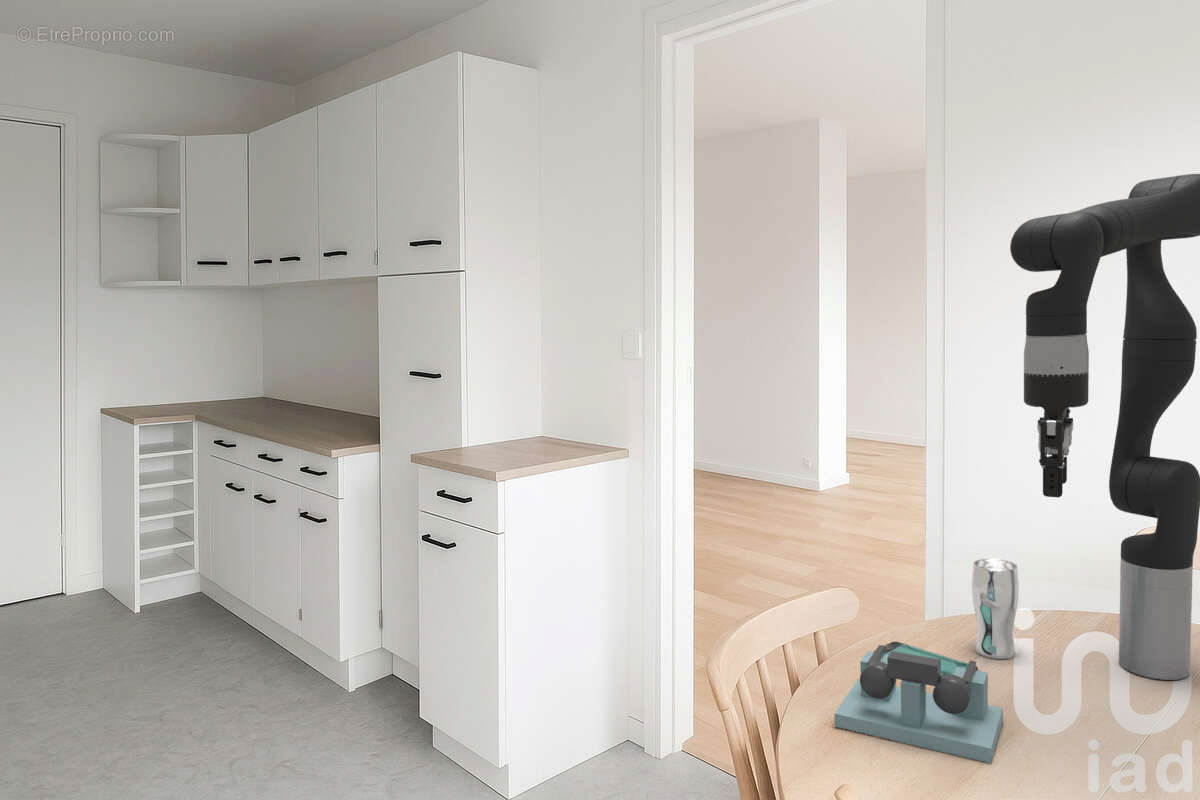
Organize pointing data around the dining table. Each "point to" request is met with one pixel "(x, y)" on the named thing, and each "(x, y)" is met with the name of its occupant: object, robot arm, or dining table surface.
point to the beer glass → (995, 606)
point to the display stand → (925, 717)
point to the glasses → (917, 678)
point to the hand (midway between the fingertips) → (1055, 489)
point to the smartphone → (946, 663)
